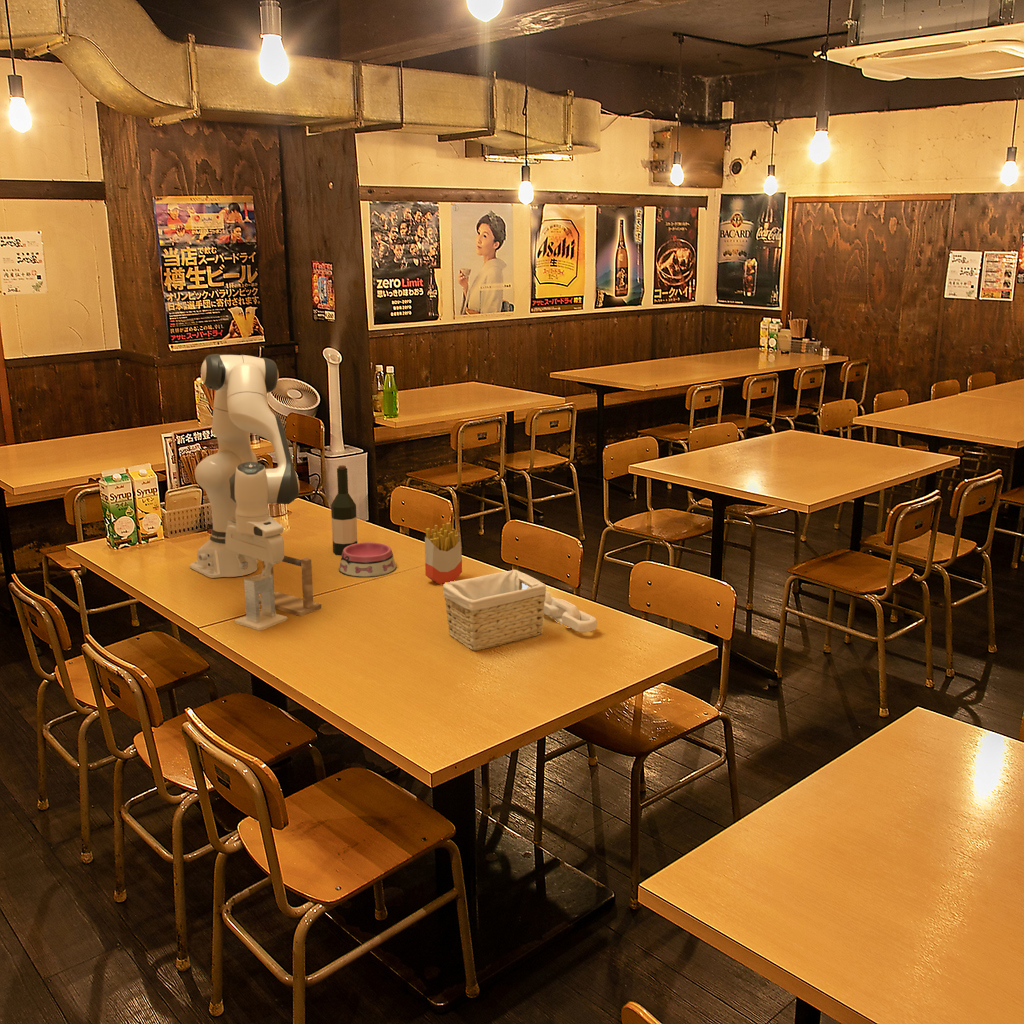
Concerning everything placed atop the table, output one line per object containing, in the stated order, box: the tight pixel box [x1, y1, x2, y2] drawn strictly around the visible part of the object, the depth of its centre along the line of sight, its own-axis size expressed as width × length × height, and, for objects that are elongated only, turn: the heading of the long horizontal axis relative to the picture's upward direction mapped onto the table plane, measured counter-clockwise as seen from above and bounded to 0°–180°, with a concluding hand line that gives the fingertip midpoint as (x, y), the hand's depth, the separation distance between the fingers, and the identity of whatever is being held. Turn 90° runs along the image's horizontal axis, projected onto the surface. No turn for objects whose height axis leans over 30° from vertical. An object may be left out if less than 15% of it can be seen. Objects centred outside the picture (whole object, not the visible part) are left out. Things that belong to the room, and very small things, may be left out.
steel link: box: [243, 572, 276, 624], centre depth 265 cm, size 4×7×12 cm, turn 145°
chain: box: [526, 586, 598, 633], centre depth 269 cm, size 30×6×6 cm, turn 33°
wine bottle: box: [330, 465, 358, 557], centre depth 325 cm, size 8×8×30 cm
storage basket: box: [442, 569, 547, 651], centre depth 257 cm, size 24×16×15 cm
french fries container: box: [424, 521, 463, 585], centre depth 298 cm, size 5×11×18 cm, turn 127°
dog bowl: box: [338, 541, 398, 579], centre depth 312 cm, size 18×19×7 cm
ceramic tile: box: [234, 609, 289, 632], centre depth 267 cm, size 10×10×1 cm
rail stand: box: [259, 555, 322, 617], centre depth 277 cm, size 18×8×16 cm, turn 56°
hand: (254, 572), depth 263 cm, fingers open, 8 cm apart
